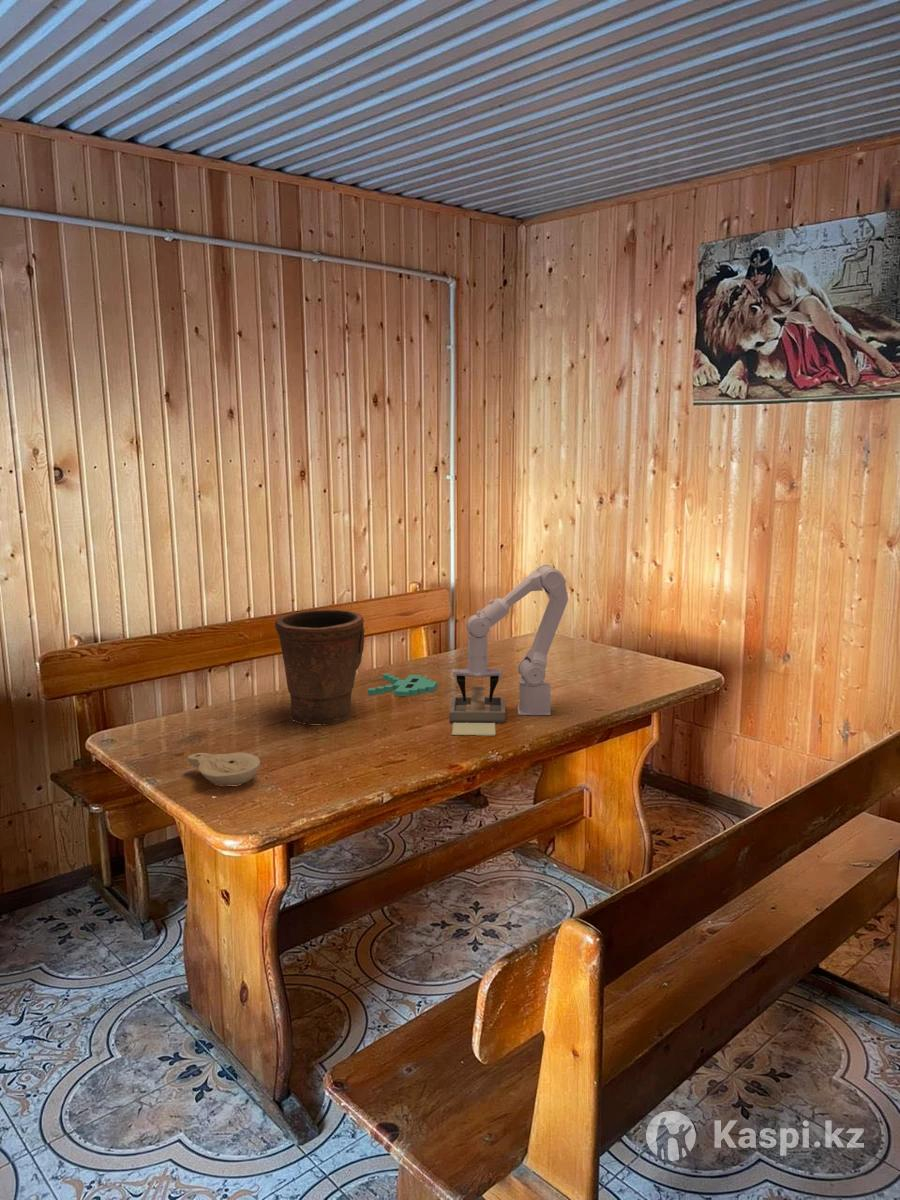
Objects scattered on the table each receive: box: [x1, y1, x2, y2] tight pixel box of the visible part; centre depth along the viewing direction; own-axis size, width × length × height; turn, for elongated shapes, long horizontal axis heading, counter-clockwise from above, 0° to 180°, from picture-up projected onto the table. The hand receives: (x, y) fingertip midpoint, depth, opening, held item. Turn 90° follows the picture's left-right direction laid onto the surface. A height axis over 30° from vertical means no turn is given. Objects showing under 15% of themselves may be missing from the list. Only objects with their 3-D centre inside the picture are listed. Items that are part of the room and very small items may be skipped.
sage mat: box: [451, 723, 496, 737], centre depth 250 cm, size 12×10×1 cm
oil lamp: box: [187, 752, 261, 786], centre depth 216 cm, size 21×14×5 cm
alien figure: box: [367, 673, 438, 698], centre depth 292 cm, size 20×2×20 cm
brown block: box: [470, 686, 486, 710], centre depth 263 cm, size 4×4×6 cm
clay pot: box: [274, 609, 365, 726], centre depth 263 cm, size 25×29×30 cm
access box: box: [449, 695, 506, 724], centre depth 264 cm, size 16×16×3 cm
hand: (477, 700), depth 263 cm, fingers open, 7 cm apart
